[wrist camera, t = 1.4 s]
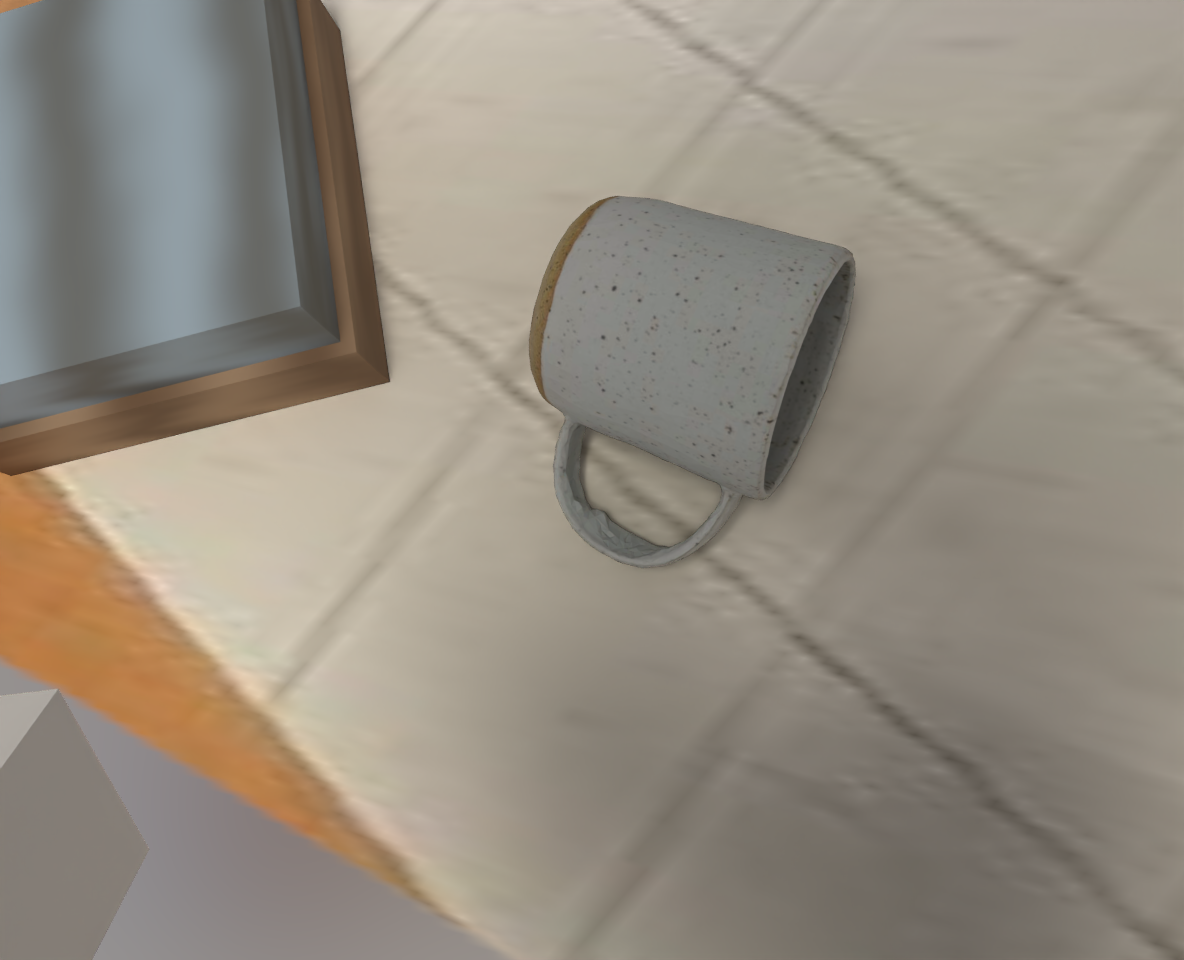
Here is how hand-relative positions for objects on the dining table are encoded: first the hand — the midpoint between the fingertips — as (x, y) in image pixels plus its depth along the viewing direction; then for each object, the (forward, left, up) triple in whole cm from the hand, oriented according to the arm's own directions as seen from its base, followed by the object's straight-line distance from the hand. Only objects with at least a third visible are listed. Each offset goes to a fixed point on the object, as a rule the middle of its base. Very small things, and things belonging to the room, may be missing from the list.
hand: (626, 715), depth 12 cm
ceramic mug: (-1, -10, -22) cm, 25 cm away
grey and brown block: (+17, -22, -22) cm, 35 cm away
